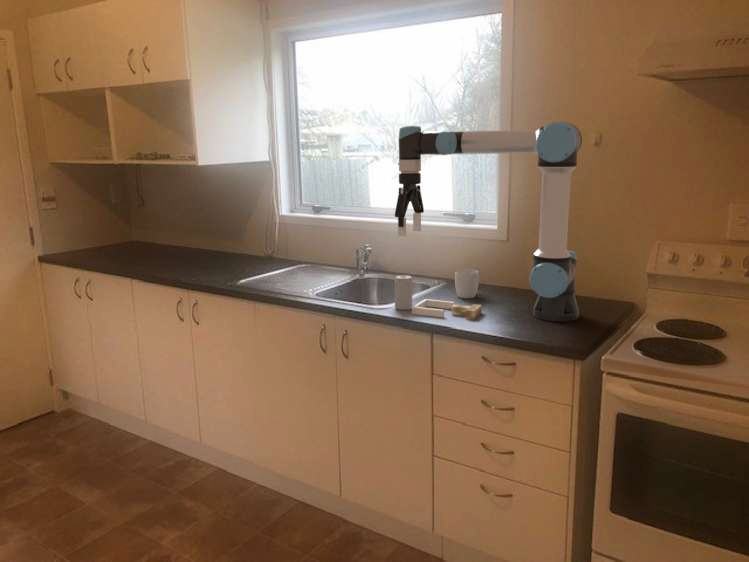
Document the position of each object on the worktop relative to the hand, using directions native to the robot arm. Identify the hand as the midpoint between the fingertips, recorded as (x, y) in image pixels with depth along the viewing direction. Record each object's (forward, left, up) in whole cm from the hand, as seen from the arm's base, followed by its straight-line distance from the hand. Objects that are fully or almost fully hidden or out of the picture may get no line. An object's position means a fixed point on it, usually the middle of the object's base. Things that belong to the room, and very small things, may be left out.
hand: (409, 233), depth 217 cm
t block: (-20, -2, -28) cm, 35 cm away
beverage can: (+3, -1, -28) cm, 28 cm away
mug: (-13, -29, -28) cm, 43 cm away
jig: (-9, -2, -28) cm, 29 cm away
